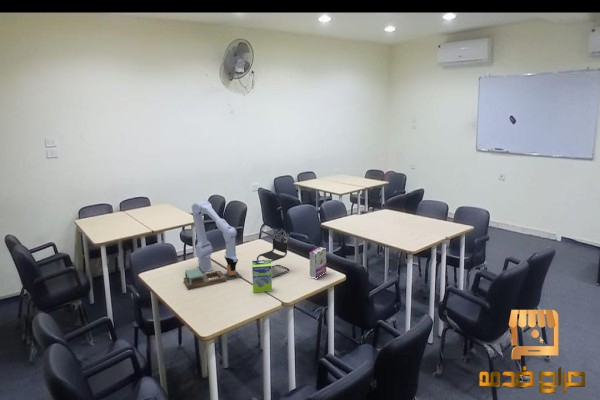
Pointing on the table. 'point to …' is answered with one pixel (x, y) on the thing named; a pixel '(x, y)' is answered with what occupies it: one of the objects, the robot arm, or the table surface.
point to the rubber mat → (232, 276)
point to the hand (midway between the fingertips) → (231, 269)
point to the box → (262, 276)
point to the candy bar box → (317, 262)
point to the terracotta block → (230, 271)
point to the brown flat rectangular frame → (200, 280)
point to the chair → (280, 247)
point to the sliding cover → (195, 273)
